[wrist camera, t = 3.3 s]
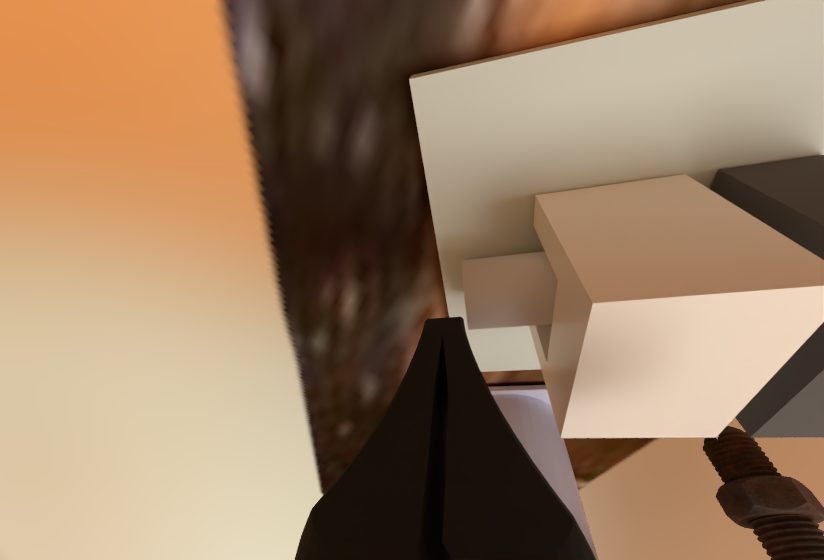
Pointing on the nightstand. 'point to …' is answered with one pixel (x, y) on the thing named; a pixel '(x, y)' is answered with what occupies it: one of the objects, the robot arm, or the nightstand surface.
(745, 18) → the pipe clamp
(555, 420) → the robot arm
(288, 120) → the nightstand surface
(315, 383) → the nightstand surface
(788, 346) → the sleeve
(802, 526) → the bolt
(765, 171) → the dark grey block
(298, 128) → the nightstand surface
